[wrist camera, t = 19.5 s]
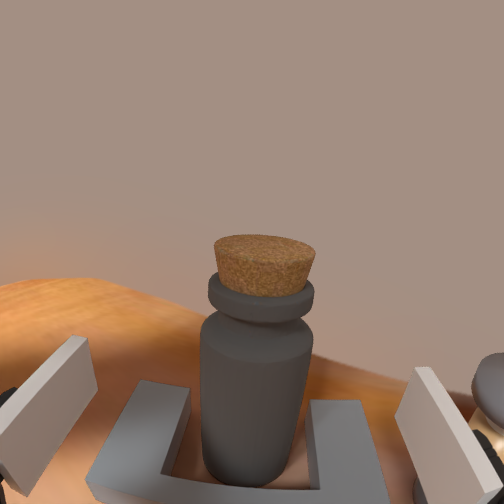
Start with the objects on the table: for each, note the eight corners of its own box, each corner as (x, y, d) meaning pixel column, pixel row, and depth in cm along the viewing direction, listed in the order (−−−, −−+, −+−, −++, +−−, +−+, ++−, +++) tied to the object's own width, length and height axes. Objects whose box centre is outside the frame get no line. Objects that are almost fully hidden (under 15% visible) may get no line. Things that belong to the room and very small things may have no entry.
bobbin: (425, 542, 10) (519, 436, 8) (402, 467, 17) (458, 356, 15) (504, 512, 10) (588, 405, 8) (474, 452, 17) (530, 349, 14)
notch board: (95, 499, 13) (84, 479, 13) (144, 402, 23) (140, 379, 23) (377, 527, 13) (392, 509, 12) (352, 421, 23) (360, 399, 22)
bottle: (199, 429, 21) (200, 229, 17) (276, 425, 22) (304, 233, 18) (205, 491, 16) (203, 263, 12) (296, 482, 17) (349, 265, 13)
